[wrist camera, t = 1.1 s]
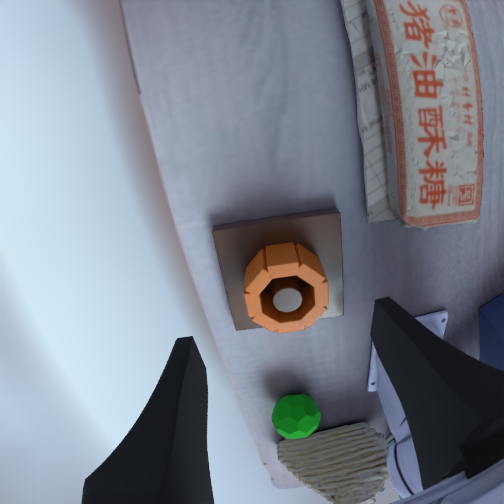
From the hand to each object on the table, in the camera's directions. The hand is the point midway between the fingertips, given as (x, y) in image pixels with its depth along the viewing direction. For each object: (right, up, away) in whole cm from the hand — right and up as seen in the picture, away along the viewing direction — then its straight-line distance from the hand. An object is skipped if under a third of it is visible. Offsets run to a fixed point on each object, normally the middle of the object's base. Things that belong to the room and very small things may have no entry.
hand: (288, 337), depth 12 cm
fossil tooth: (+9, -20, +24) cm, 32 cm away
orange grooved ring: (+1, +1, +12) cm, 12 cm away
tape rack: (+1, +2, +13) cm, 13 cm away
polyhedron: (+3, -12, +20) cm, 24 cm away
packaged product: (+10, +14, +7) cm, 19 cm away
